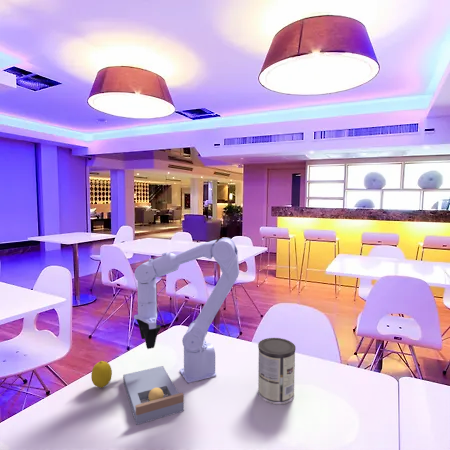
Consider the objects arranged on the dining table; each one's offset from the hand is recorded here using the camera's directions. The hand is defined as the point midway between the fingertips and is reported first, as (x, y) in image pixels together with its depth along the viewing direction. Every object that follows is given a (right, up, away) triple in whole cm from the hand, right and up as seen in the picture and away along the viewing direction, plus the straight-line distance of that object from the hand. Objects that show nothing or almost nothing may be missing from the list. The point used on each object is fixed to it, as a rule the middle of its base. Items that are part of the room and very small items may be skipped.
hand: (147, 342), depth 101 cm
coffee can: (+39, -11, -10) cm, 41 cm away
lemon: (-11, -10, -8) cm, 17 cm away
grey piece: (+4, -10, -12) cm, 16 cm away
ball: (+7, -10, -16) cm, 20 cm away
